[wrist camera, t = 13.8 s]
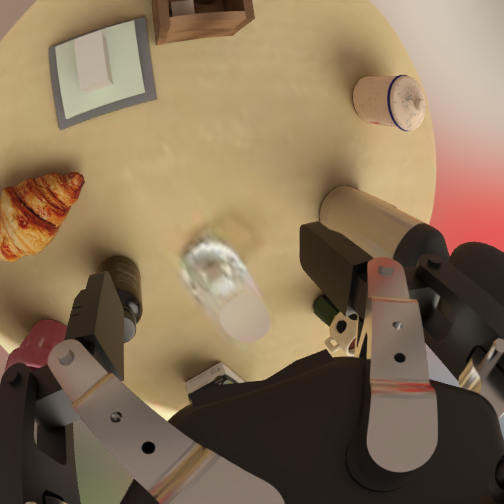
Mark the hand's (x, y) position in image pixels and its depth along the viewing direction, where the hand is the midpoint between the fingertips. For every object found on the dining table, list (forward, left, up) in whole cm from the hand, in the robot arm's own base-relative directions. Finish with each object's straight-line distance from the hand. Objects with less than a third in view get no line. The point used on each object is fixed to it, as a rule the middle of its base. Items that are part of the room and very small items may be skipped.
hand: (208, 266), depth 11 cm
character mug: (-24, +34, -28) cm, 50 cm away
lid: (+6, -14, -27) cm, 31 cm away
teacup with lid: (-36, -6, -28) cm, 46 cm away
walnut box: (-7, -21, -28) cm, 35 cm away
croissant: (+21, +1, -28) cm, 35 cm away
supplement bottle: (+11, +14, -28) cm, 33 cm away
